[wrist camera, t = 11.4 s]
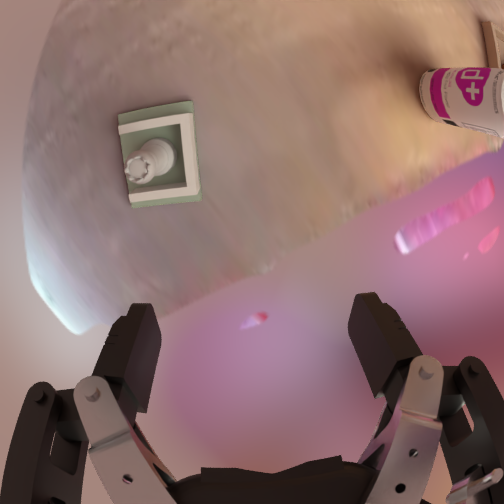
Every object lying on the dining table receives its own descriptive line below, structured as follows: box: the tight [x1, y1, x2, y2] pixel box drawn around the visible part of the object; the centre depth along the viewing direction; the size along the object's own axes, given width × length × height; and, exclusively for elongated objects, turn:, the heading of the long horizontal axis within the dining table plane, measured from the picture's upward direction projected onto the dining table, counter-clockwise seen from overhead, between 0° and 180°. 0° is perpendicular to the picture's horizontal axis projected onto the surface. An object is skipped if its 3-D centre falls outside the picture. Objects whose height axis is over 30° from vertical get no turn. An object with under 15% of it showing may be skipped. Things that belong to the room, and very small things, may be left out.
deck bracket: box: [118, 101, 202, 208], centre depth 28 cm, size 12×9×4 cm
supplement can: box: [419, 68, 504, 138], centre depth 20 cm, size 8×8×15 cm
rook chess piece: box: [124, 137, 177, 184], centre depth 25 cm, size 4×4×8 cm
